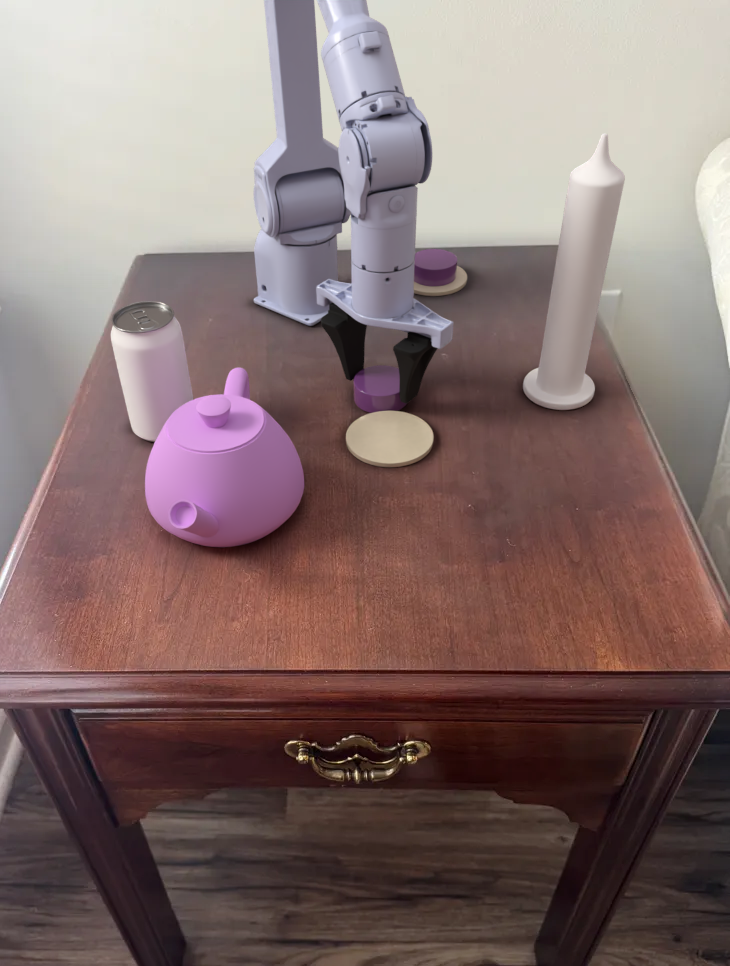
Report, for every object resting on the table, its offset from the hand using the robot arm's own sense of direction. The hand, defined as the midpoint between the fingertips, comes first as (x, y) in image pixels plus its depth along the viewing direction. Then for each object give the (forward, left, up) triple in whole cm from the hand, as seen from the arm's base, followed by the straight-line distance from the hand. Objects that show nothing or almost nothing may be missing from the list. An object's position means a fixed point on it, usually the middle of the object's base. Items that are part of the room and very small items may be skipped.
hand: (381, 386), depth 86 cm
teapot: (0, -22, -2) cm, 22 cm away
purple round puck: (-11, +24, -1) cm, 26 cm away
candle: (+13, +12, -2) cm, 18 cm away
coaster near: (+5, -5, -1) cm, 7 cm away
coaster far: (-11, +24, -1) cm, 26 cm away
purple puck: (0, 0, -1) cm, 1 cm away
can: (-14, -17, -2) cm, 22 cm away
